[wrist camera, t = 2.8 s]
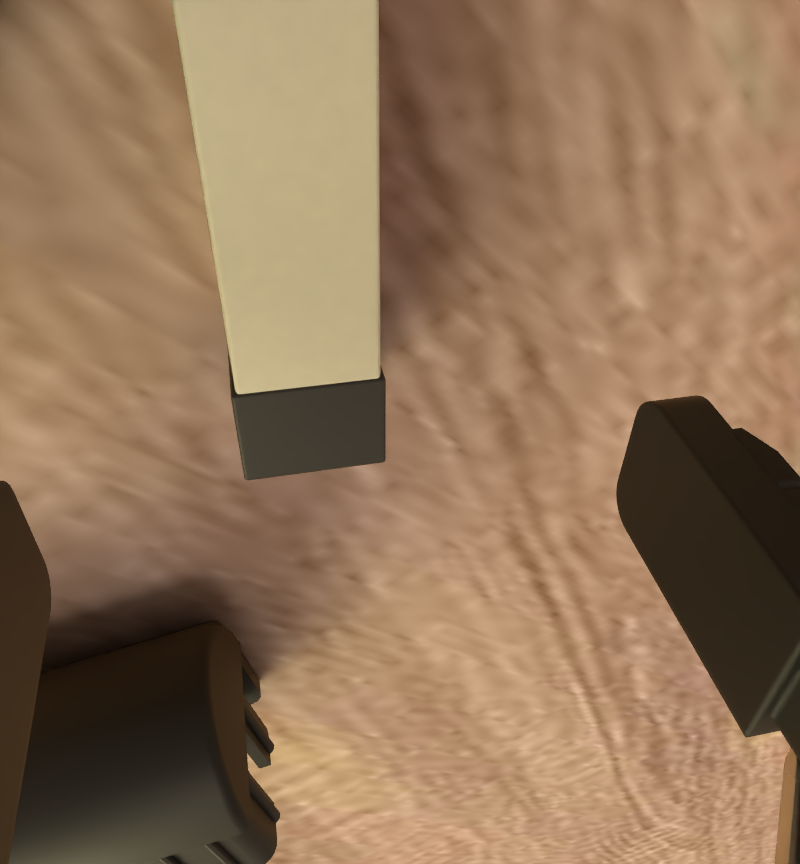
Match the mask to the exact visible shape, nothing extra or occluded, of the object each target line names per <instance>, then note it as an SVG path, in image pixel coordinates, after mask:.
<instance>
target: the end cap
mask: <svg viewBox="0 0 800 864" xmlns="http://www.w3.org/2000/svg"><path fill="white" fill-rule="evenodd" d="M260 697H261V693H260V682H259V678H258V676H257V675H256V673H255V672H254V670H253V669H252V667H251V666H250V664H249V663H248V661H247V660H246V658H245V657H244V655H243V654H242V652H241V646H240V642H239V641H238V640H237V639H236V637H235V636H234V635H233V633H232V632H230V631H229V630H228V629H227V628H225V627H224V626H222V625H221V624H220V623H219V622H218V621H214V622H209V623H204V624H201V625H198V626H195V627H191V628H188V629H185V630H181V631H178V632H175V633H171V634H168V635H165V636H162V637H158V638H155V639H152V640H148V641H145V642H142V643H138V644H135V645H132V646H129V647H125V648H122V649H119V650H115V651H112V652H109V653H105V654H102V655H99V656H96V657H92V658H89V659H86V660H82V661H79V662H76V663H72V664H69V665H66V666H63V667H59V668H56V669H53V670H49V671H46V672H43V673H40V678H39V684H38V690H37V696H36V702H35V708H34V714H33V720H32V726H31V732H30V738H29V744H28V750H27V756H26V762H25V768H24V774H23V780H22V786H21V792H20V798H19V804H18V810H17V816H16V822H15V828H14V834H13V840H12V846H11V852H10V858H9V864H266V863H267V862H268V861H269V860H270V859H271V857H272V856H273V854H274V852H275V849H276V847H277V832H276V822H277V821H278V820H279V818H280V813H279V811H278V810H277V808H276V807H275V806H274V802H273V801H272V800H271V799H270V798H269V796H268V795H267V794H266V793H265V791H264V790H263V789H262V788H261V787H260V785H259V784H258V783H257V782H256V780H255V779H254V778H253V777H252V776H251V774H250V773H249V771H248V763H247V753H248V755H249V756H250V757H251V758H252V760H253V761H254V762H255V763H256V765H257V766H258V767H259V768H262V767H266V766H269V765H271V760H270V753H271V752H272V751H273V749H274V744H273V743H272V741H271V740H270V739H269V736H268V731H267V728H266V726H265V725H264V724H263V722H262V721H261V719H260V718H259V717H258V715H257V714H256V712H255V711H254V710H253V708H252V707H251V704H253V703H255V702H257V701H258V700H259V699H260Z"/></svg>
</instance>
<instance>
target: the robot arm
mask: <svg viewBox="0 0 800 864" xmlns="http://www.w3.org/2000/svg"><path fill="white" fill-rule="evenodd" d="M617 505H618V510H619V514H620V518H621V520H622V523H623V525H624V527H625V529H626V531H627V533H628V534H629V536H630V538H631V540H632V541H633V543H634V545H635V547H636V548H637V550H638V552H639V553H640V555H641V557H642V559H643V560H644V562H645V564H646V566H647V567H648V569H649V571H650V573H651V574H652V576H653V578H654V579H655V581H656V583H657V585H658V586H659V588H660V590H661V592H662V593H663V595H664V597H665V599H666V600H667V602H668V604H669V605H670V607H671V609H672V611H673V612H674V614H675V616H676V618H677V619H678V621H679V623H680V625H681V626H682V628H683V630H684V631H685V633H686V635H687V637H688V638H689V640H690V642H691V644H692V645H693V647H694V649H695V651H696V652H697V654H698V656H699V657H700V659H701V661H702V663H703V664H704V666H705V668H706V670H707V671H708V673H709V675H710V677H711V678H712V680H713V682H714V683H715V685H716V687H717V689H718V690H719V692H720V694H721V696H722V697H723V699H724V701H725V703H726V704H727V706H728V708H729V710H730V711H731V713H732V715H733V716H734V718H735V720H736V722H737V723H738V725H739V727H740V729H741V730H742V732H743V734H744V736H745V737H751V736H756V735H761V734H766V733H771V732H775V731H780V730H781V732H782V734H783V735H784V737H785V738H786V740H787V742H788V743H789V745H790V747H791V749H790V750H789V752H788V754H787V756H786V759H785V763H784V772H783V782H782V792H781V803H780V813H779V824H778V834H777V845H776V855H775V864H800V477H799V475H798V474H797V473H796V472H795V471H794V470H793V469H792V467H791V466H790V465H789V464H788V463H787V462H786V460H785V459H784V458H783V457H782V456H781V455H780V454H779V452H778V451H776V450H775V449H773V448H772V447H770V446H769V445H767V444H766V443H764V442H763V441H761V440H759V439H758V438H756V437H755V436H753V435H752V434H750V433H749V432H747V431H746V430H744V429H743V428H738V429H732V428H731V427H730V426H729V424H728V423H727V422H726V421H725V420H724V418H723V417H722V416H721V415H720V414H719V412H718V411H717V410H716V409H715V408H714V406H713V405H712V404H711V403H710V402H709V401H708V400H707V399H706V398H704V397H702V396H689V397H681V398H673V399H665V400H657V401H649V402H645V403H643V404H642V405H641V406H640V407H639V409H638V411H637V414H636V417H635V420H634V424H633V428H632V431H631V435H630V439H629V442H628V446H627V450H626V453H625V457H624V460H623V464H622V468H621V471H620V475H619V479H618V483H617ZM50 611H51V588H50V580H49V575H48V570H47V567H46V564H45V561H44V559H43V557H42V554H41V552H40V550H39V548H38V545H37V543H36V541H35V539H34V536H33V534H32V532H31V530H30V527H29V525H28V523H27V521H26V518H25V516H24V514H23V512H22V509H21V507H20V505H19V503H18V500H17V498H16V496H15V494H14V492H13V490H12V488H11V487H10V485H9V484H8V483H7V482H5V481H0V864H9V858H10V852H11V846H12V840H13V834H14V828H15V822H16V816H17V810H18V804H19V798H20V792H21V786H22V780H23V774H24V768H25V762H26V756H27V750H28V744H29V738H30V732H31V726H32V720H33V714H34V708H35V702H36V696H37V690H38V684H39V678H40V672H41V666H42V660H43V654H44V648H45V642H46V636H47V630H48V624H49V618H50Z"/></svg>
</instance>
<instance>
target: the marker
mask: <svg viewBox="0 0 800 864" xmlns="http://www.w3.org/2000/svg"><path fill="white" fill-rule="evenodd" d="M172 4H173V11H174V17H175V23H176V29H177V35H178V41H179V48H180V54H181V60H182V66H183V72H184V78H185V85H186V91H187V97H188V103H189V109H190V115H191V122H192V128H193V134H194V140H195V146H196V152H197V159H198V165H199V171H200V177H201V183H202V189H203V196H204V202H205V208H206V214H207V220H208V226H209V233H210V239H211V245H212V251H213V257H214V263H215V270H216V276H217V282H218V288H219V294H220V300H221V307H222V313H223V319H224V325H225V331H226V337H227V345H228V360H229V374H230V389H231V400H232V406H233V412H234V418H235V424H236V430H237V436H238V442H239V448H240V454H241V460H242V466H243V471H244V477H245V479H246V480H254V479H261V478H269V477H276V476H284V475H291V474H299V473H306V472H314V471H321V470H329V469H336V468H344V467H351V466H359V465H366V464H373V463H381V462H385V397H386V380H385V377H384V374H383V371H382V368H381V364H380V159H379V0H172Z"/></svg>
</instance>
